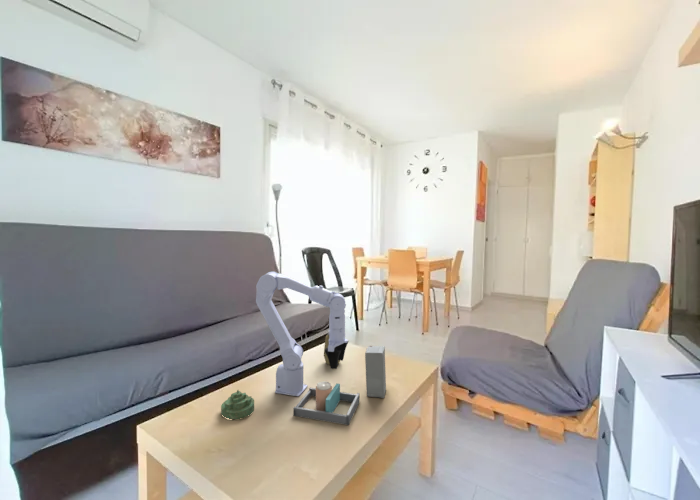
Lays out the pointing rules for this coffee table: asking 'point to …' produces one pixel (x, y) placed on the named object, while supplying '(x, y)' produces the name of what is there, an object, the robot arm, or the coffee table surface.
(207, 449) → the coffee table surface
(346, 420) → the grey tray
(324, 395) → the jar
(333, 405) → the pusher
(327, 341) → the squeeze bottle
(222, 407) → the decorative artifact
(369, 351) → the skincare box
